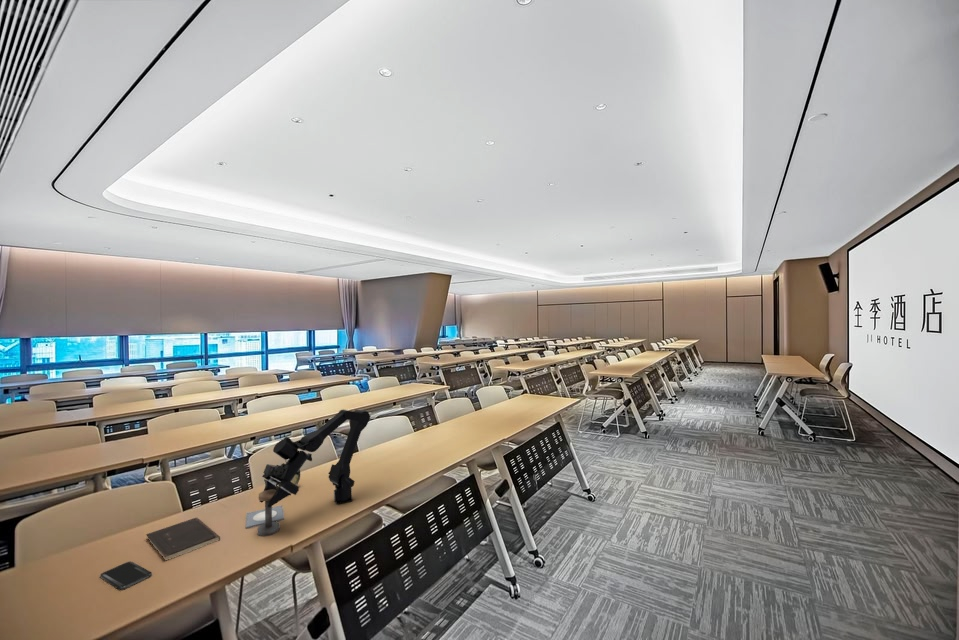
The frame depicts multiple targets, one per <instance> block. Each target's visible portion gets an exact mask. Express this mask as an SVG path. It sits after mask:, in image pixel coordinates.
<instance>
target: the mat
mask: <svg viewBox="0 0 959 640" xmlns="http://www.w3.org/2000/svg"><path fill="white" fill-rule="evenodd" d="M245 516H246V520H245V529H251V528H255V527H259V526H261V525H262V524H265V508H263V509H258V510H255V511H254V510H253V511H250V512H246V515H245ZM284 520H285V514H284V508H283V505H278V506H274V507H273V506H272V522H280V521H284Z"/></svg>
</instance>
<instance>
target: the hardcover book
mask: <svg viewBox="0 0 959 640" xmlns="http://www.w3.org/2000/svg"><path fill="white" fill-rule="evenodd" d="M145 535H146V536H147V540H148V539H149V540H150V541H149V540H148V541H149V542H150V543H151V545H152V544H153V545H152V546H153V547H154V548H155V550H156V551H157V550H158V551H159V552H158V551H157V552H158V553H159V554H160V556H161V557H162V556H163V557H162V558H163V559H164V560H165V561H166V560H167V561H169V560H168V559H170V560H172V559H175V558H177V557H180V556H182V555H185V554H187V553H190V552H193V551H195V550H197V549H200V548H202V547H205V546H207V544H208V545H211V544H212V542H213V543H215V541H216V542H217V540H218V541H221V536H220V535H219V534H217V533H216V532H215V531H214V530H213V529H212V528H210V527H209V526H208V525H207V524H206V523H204V521H202V520H201V519H200V518H199V517H193V518H191V519H188V520H184V521H182V522H179V523H175V524H173V525H169V526H167V527H164V528H161V529H158V530H155V531H153V532H149V533H146V534H145ZM210 543H211V544H210ZM192 550H193V551H192ZM179 555H180V556H179ZM176 556H177V557H176ZM174 557H175V558H174ZM171 558H172V559H171Z"/></svg>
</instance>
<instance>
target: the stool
mask: <svg viewBox="0 0 959 640" xmlns="http://www.w3.org/2000/svg"><path fill="white" fill-rule="evenodd" d="M275 492H276V490H275V489H271V490H266V491H264V490H263V491H261V492H259V493H258V501H259V502H260V501H263V502H264V509H265V524H262V525H260V526H257V535H258V536H261V537H266V536H271V535H274V534H276V533H277V532H279V530H280V522H279V521H276V522H272V507H273V506H271V507H268V506H267V505H268V503H269V502H270V500H271V499H272V497H273V495H274V494H275Z"/></svg>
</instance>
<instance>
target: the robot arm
mask: <svg viewBox="0 0 959 640" xmlns="http://www.w3.org/2000/svg"><path fill="white" fill-rule="evenodd" d="M370 419H371V415H370V413H369V412H368V411H367V410H363V409H355V410H347V409H340V410H339V411H338V412H337V414H335V415H334V416H333V417H331V418H330V419H329V420H327V422H325V423H324V424H323V425H321V426H320V427H319V428H318V429H316V430H313V431H311V432H309V433H308V434H305V435H304V436H302V437H301V438H300V439H299V440H296V441H293V440H292V439H291V438H290V437H289V436H288V437H287V436H285V437H284V438H283V439H280V440H279V441H278V442H277V443H276V444H274V447H273V449H272V451H273V453H275V454H276V455H277V456H279V457H280V458H281V459H283V460H285V463H281V464H280V465H279V464H276V465H273V464H266V465H265V468H264V470H263V475H262V478H263V480H264V489H263V491H266V490H271V489H275V490H276V492H275V494H274V495H273V497H272V499H271V500H270V502H269V503H268V505H267V506H268V507H271V506H272V507H273V506H275V505H277V503H278V502H280V501H282V500H283V499H285V498H287V497H289V496H291V495H292V494H293V495H294V496H296V495H297V494H298V492H299V490H300V488H299V487H300V486H298V485H297V486H296V485H295V484H293V483H292V482H291V481H292V479H293V478H294V476H295V475H299V472H298V471H299V470H300V471H301V468H302V467H303V466H304V464H305V463H306V461H309V462H313V458H312V453H314V452H316V451H317V450H319V449H320V447H321V446H322V445H323V443H324V442H325V439H326V438H327V437H328V436H329V435H331V434H332V433H333V432H334V431H335V430H337V429H338V428H339V427H340V426H342V425H343V424H344V423H345V422H346V421H348V420H349V428H350V429H349V431H348V434H347V437H346V439H345V442H344V445H343V448H342V451H341V454H340V456H339V458H338V461H337V462H336V464H331V466H330V471H329V472H328V474H329V476H328V479H329V482H331V484H332V485H333V486H334V488H335V489H334V490H333V500H334V502H335V503H336V504H337V505H340V504H345V503H349V502H352V501H354V500H353V498H352V497H353V496H352V488H353V487H354V485H355V480H354V479H353V478H351V477H350V475H351V465H350V464H351V461H352V458H353V455H354V453H355V451H356V448H357V445H358V441H359V439H360V437H361V432H362V431H363V430H364V429H365V428H366V427H367V425H368V424H369V421H370ZM307 452H308V453H307ZM309 452H310V453H309ZM278 485H280V486H281V487H279V486H278ZM259 502H260V503H263V502H264V501H260V500H259Z"/></svg>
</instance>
